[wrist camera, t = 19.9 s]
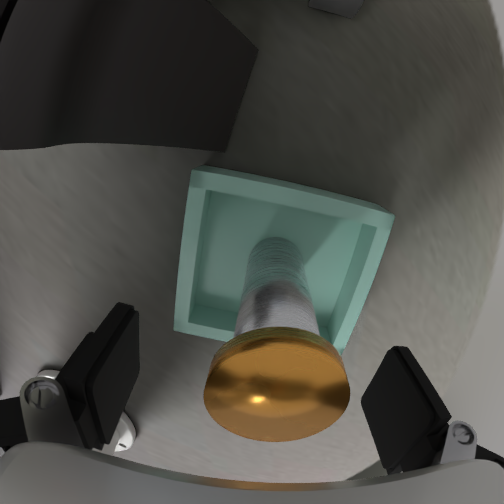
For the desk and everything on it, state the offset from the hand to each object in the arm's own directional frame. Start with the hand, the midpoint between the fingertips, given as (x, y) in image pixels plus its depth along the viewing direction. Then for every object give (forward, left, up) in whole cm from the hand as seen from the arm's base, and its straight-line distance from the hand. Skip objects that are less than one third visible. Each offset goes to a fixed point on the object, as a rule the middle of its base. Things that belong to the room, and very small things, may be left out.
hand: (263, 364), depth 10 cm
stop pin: (+1, -1, -7) cm, 8 cm away
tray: (+1, -1, -8) cm, 8 cm away
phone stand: (+10, +7, -8) cm, 15 cm away
